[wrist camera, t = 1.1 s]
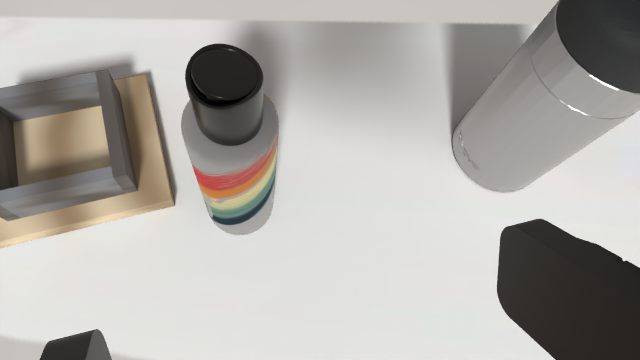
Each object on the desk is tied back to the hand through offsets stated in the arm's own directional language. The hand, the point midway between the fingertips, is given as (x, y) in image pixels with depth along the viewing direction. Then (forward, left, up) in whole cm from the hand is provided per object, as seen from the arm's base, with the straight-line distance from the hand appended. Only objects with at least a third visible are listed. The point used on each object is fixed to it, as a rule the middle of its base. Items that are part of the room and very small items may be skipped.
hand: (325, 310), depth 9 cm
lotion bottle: (0, -13, -30) cm, 32 cm away
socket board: (+13, -21, -29) cm, 38 cm away
